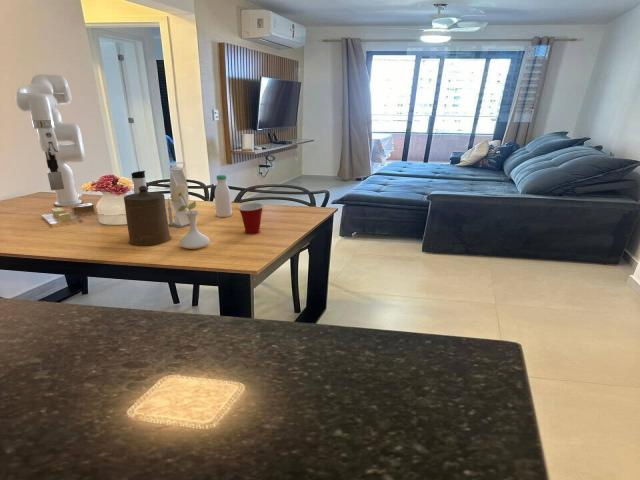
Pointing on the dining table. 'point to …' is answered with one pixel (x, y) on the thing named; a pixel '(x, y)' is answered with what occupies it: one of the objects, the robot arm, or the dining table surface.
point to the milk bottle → (222, 197)
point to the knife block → (82, 208)
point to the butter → (57, 211)
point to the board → (53, 219)
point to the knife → (55, 179)
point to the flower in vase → (194, 236)
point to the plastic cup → (251, 216)
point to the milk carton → (180, 216)
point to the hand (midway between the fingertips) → (53, 168)
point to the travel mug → (138, 180)
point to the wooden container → (146, 217)
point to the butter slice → (64, 217)
